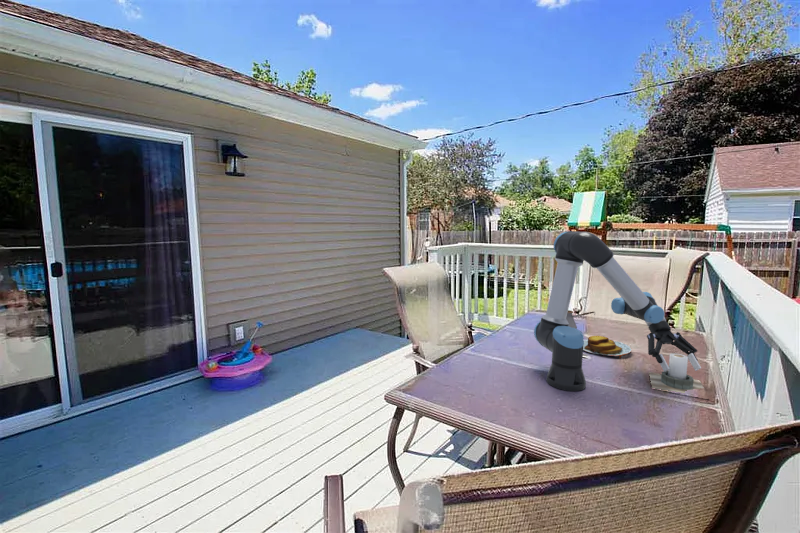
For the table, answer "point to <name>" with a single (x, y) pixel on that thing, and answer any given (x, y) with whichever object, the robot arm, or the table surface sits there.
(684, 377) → the paper roll
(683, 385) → the roll holder
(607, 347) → the food on plate
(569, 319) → the coffee pot
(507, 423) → the table surface
